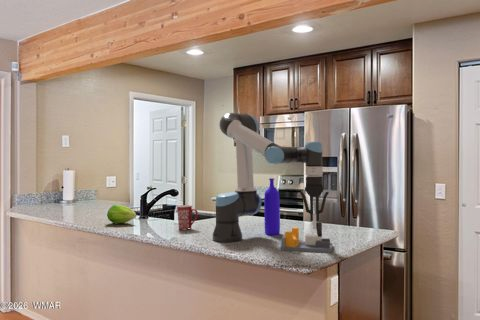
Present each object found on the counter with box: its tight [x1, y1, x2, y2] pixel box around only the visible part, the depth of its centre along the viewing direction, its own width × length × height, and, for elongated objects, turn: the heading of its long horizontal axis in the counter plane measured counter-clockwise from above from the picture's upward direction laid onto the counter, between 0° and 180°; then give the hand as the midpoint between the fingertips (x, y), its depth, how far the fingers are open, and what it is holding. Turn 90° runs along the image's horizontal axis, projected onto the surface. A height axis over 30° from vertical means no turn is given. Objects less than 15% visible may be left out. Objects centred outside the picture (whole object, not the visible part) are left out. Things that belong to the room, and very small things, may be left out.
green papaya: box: [106, 204, 137, 225], centre depth 249 cm, size 14×20×12 cm
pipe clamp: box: [284, 227, 300, 247], centre depth 179 cm, size 12×4×6 cm, turn 155°
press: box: [280, 233, 333, 254], centre depth 177 cm, size 22×13×6 cm, turn 76°
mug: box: [176, 204, 199, 230], centre depth 228 cm, size 13×9×14 cm
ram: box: [304, 221, 323, 246], centre depth 176 cm, size 7×5×10 cm, turn 76°
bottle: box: [263, 177, 281, 236], centre depth 211 cm, size 8×8×30 cm
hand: (314, 228), depth 176 cm, fingers closed
